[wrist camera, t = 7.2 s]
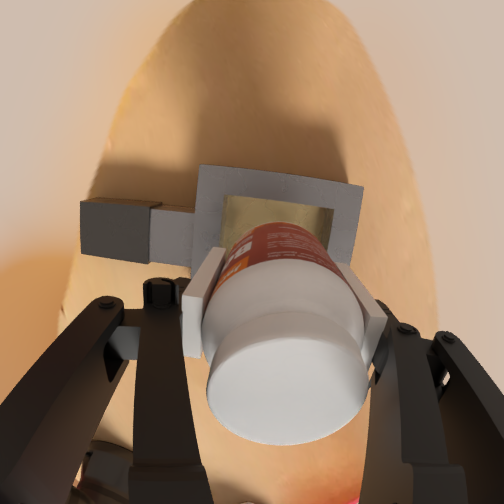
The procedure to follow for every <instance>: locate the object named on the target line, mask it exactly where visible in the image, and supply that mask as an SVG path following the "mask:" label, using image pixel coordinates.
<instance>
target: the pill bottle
mask: <svg viewBox="0 0 504 504" xmlns="http://www.w3.org/2000/svg"><path fill="white" fill-rule="evenodd" d="M201 338H202V347H203V351H204V354H205V357H206V360H207V362H208V364H209V366H210V372H209V377H208V381H207V388H206V395H207V401H208V405H209V407H210V409H211V411H212V413H213V415H214V416H215V417H216V419H217V420H218V421H219V422H220V423H221V424H222V425H223V426H224V427H226V428H227V429H228V430H230V431H231V432H233V433H234V434H236V435H238V436H240V437H243V438H245V439H248V440H250V441H254V442H258V443H263V444H269V445H295V444H302V443H307V442H311V441H315V440H318V439H321V438H323V437H326V436H328V435H330V434H332V433H334V432H336V431H337V430H339V429H340V428H342V427H343V426H344V425H346V424H347V423H348V422H349V421H350V420H352V418H353V417H354V416H355V415H356V414H357V413H358V412H359V410H360V409H361V407H362V405H363V404H364V401H365V399H366V396H367V393H368V388H369V378H368V372H367V369H366V366H365V363H364V361H363V358H362V355H361V351H362V347H363V342H364V321H363V315H362V312H361V309H360V306H359V304H358V302H357V300H356V298H355V296H354V294H353V292H352V290H351V288H350V287H349V285H348V284H347V282H346V281H345V279H344V278H343V276H342V275H341V273H340V271H339V270H338V268H337V267H336V265H335V264H334V262H333V261H332V259H331V258H330V256H329V255H328V253H327V252H326V250H325V249H324V247H323V246H322V244H321V243H320V242H319V240H318V239H317V238H316V237H315V236H314V235H313V234H312V233H310V232H309V231H308V230H306V229H305V228H303V227H301V226H299V225H296V224H293V223H289V222H282V221H276V222H268V223H264V224H260V225H258V226H255V227H253V228H252V229H250V230H248V231H247V232H246V233H244V234H243V235H242V236H241V237H240V238H239V239H238V240H237V241H236V243H235V244H234V246H233V247H232V249H231V251H230V253H229V255H228V257H227V260H226V262H225V265H224V267H223V269H222V272H221V274H220V277H219V279H218V281H217V284H216V286H215V288H214V291H213V293H212V296H211V298H210V301H209V303H208V306H207V308H206V311H205V315H204V319H203V323H202V331H201Z"/></svg>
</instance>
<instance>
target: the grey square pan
mask: <svg viewBox="0 0 504 504" xmlns="http://www.w3.org/2000/svg"><path fill="white" fill-rule="evenodd" d="M363 190H364V187H362V186H357V185H352V184H347V183H341V182H336V181H330V180H324V179H318V178H312V177H305V176H299V175H292V174H285V173H278V172H270V171H262V170H254V169H245V168H236V167H226V166H215V165H203V164H199V174H198V184H197V194H196V206H195V208H190V207H180V206H170V205H162V203H161V202H150V201H138V200H125V199H111V198H93V199H89V200H84V201H80V239H81V254H86V255H92V256H98V257H104V258H110V259H117V260H123V261H130V262H136V263H143V264H149V263H150V262H157V263H164V264H171V265H178V266H186V267H191V279H193V277H194V275H195V274H196V272H197V271H198V269H199V268H200V266H201V265H202V263H203V262H204V260H205V259H206V257H207V255H208V254H209V252H210V251H211V249H212V248H213V247H219V248H226V259H225V262H226V260H227V257H228V255H229V253H230V251H231V249H232V247H233V246H234V244H235V243H236V241H237V240H238V239H239V238H240V237H241V236H242V235H243V234H244V233H246V232H247V231H248V230H250V229H252V228H253V227H255V226H258V225H260V224H264V223H268V222H276V221H282V222H289V223H293V224H296V225H299V226H301V227H303V228H305V229H306V230H308V231H309V232H310V233H312V234H313V235H314V236H315V237H316V238H317V239H318V240H319V242H320V243H321V244H322V246H323V247H324V249H325V250H326V252H327V253H328V255H329V256H330V258H331V259H332V261H333V262H338V263H346V264H347V265H348V266H350V262H351V257H352V252H353V247H354V242H355V237H356V232H357V226H358V221H359V215H360V209H361V203H362V197H363Z"/></svg>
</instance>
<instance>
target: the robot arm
mask: <svg viewBox="0 0 504 504" xmlns="http://www.w3.org/2000/svg"><path fill="white" fill-rule="evenodd" d="M225 259H226V248H219V247H213V248H212V249H211V251H210V252H209V254H208V255H207V257H206V259H205V260H204V262H203V263H202V265H201V266H200V268H199V269H198V271H197V272H196V274H195V275H194V277H193V279H189V278H182V277H179V278H177V279H175V280H173V279H169V278H162V277H159V278H151V279H148V280H146V281H145V282H144V283H143V298H144V306H143V308H142V309H124V303H123V301H122V300H121V299H119V298H117V297H112V296H102V297H99V298H96V299H95V300H93V301H92V302H91V303H90V304H89V305H88V306H87V307H86V308H85V309H84V310H83V311H82V312H81V313H80V314H79V315H78V316H77V317H76V318H75V319H74V320H73V321H72V322H71V323H70V325H69V326H68V327H67V328H66V329H65V330H64V331H63V332H62V333H61V334H60V335H59V336H58V337H57V339H56V340H55V341H54V342H53V343H52V344H51V345H50V346H49V347H48V348H47V350H46V351H45V352H44V353H43V354H42V355H41V356H40V358H39V359H38V360H37V361H36V362H35V363H34V365H33V366H32V367H31V368H30V369H29V370H28V372H27V373H26V374H25V375H24V376H23V378H22V379H21V380H20V381H19V382H18V384H17V385H16V386H15V387H14V388H13V390H12V391H11V392H10V393H9V395H8V396H7V397H6V399H5V400H4V401H3V402H2V404H1V405H0V504H214V502H213V498H212V495H211V490H210V486H209V482H208V478H207V474H206V471H205V468H204V466H203V465H202V463H201V459H200V454H199V449H198V444H197V439H196V434H195V428H194V422H193V416H192V410H191V404H190V398H189V391H188V384H187V377H186V370H185V362H184V356H187V357H192V358H198V359H200V358H201V355H202V352H203V347H202V338H201V331H202V323H203V319H204V315H205V311H206V308H207V306H208V303H209V301H210V298H211V296H212V293H213V291H214V288H215V286H216V284H217V281H218V279H219V277H220V274H221V272H222V269H223V267H224V265H225ZM334 264H335V265H336V267H337V268H338V270H339V271H340V273H341V275H342V276H343V278H344V279H345V281H346V282H347V284H348V285H349V287H350V288H351V290H352V292H353V294H354V296H355V298H356V300H357V302H358V304H359V306H360V309H361V312H362V315H363V321H364V342H363V347H362V351H361V355H362V358H363V361H364V363H365V366H366V369H367V372H368V370H369V368H370V365H371V363H373V365H374V367H375V369H374V372H373V374H372V376H371V379H370V381H369V388H370V387H371V399H370V416H369V429H368V440H367V449H366V458H365V466H364V473H363V480H362V486H361V492H360V498H359V503H358V504H504V395H503V394H502V392H501V391H500V390H499V388H498V387H497V386H496V384H495V383H494V382H493V380H492V379H491V378H490V376H489V375H488V374H487V373H486V371H485V370H484V368H483V367H482V366H481V365H480V363H479V362H478V361H477V360H476V359H475V357H474V356H473V355H472V353H471V352H470V351H469V350H468V349H467V347H466V346H465V345H464V344H463V343H462V341H461V340H460V339H459V338H458V337H457V336H455V335H454V334H453V333H451V332H448V331H446V332H445V331H438V332H437V333H436V334H435V337H434V339H433V340H428V339H423V338H421V336H420V333H419V331H418V330H417V329H416V328H415V327H413V326H411V325H409V324H406V323H400V322H399V321H398V320H397V318H396V317H395V316H394V315H393V313H392V312H391V311H390V310H389V308H388V307H387V306H386V304H384V303H383V302H381V301H380V300H376V299H374V298H373V297H372V295H371V294H370V293H369V292H368V290H367V289H366V288H365V286H364V285H363V284H362V283H361V281H360V280H359V279H358V277H357V276H356V275H355V274H354V272H353V271H352V270H351V269H350V267H349V266H348V265H347V264H346V263H338V262H334ZM129 360H137V368H136V380H135V396H134V418H133V452H131V451H129V450H127V449H124V448H122V447H120V446H117V445H114V444H111V443H107V442H102V441H92V442H91V440H92V438H93V436H94V433H95V431H96V429H97V427H98V425H99V423H100V420H101V418H102V416H103V414H104V412H105V410H106V408H107V406H108V404H109V402H110V399H111V397H112V395H113V393H114V391H115V389H116V387H117V385H118V383H119V381H120V379H121V377H122V375H123V373H124V371H125V369H126V367H127V365H128V363H129ZM447 372H449V374H450V378H449V381H448V382H447V384H446V385H444V384H443V380H444V378H445V376H446V374H447ZM369 388H368V390H369ZM81 463H82V467H81V478H80V481H79V483H78V485H77V487H74V486H73V482H74V480H75V477H76V475H77V472H78V470H79V468H80V465H81Z"/></svg>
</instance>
